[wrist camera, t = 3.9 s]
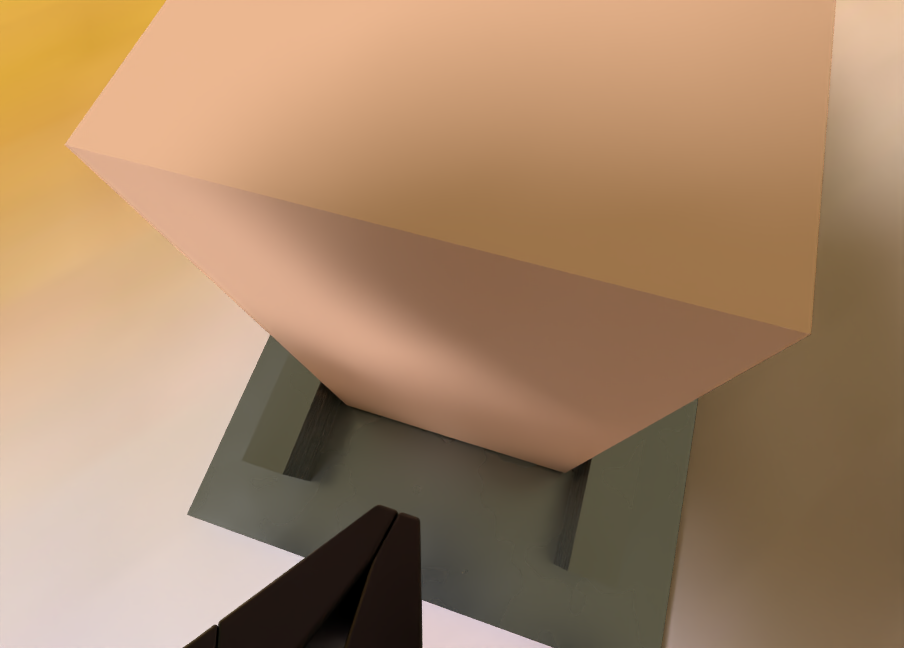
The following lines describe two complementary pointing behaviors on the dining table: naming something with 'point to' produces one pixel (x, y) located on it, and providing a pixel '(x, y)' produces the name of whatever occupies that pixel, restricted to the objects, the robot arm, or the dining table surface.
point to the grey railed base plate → (462, 508)
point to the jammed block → (489, 196)
